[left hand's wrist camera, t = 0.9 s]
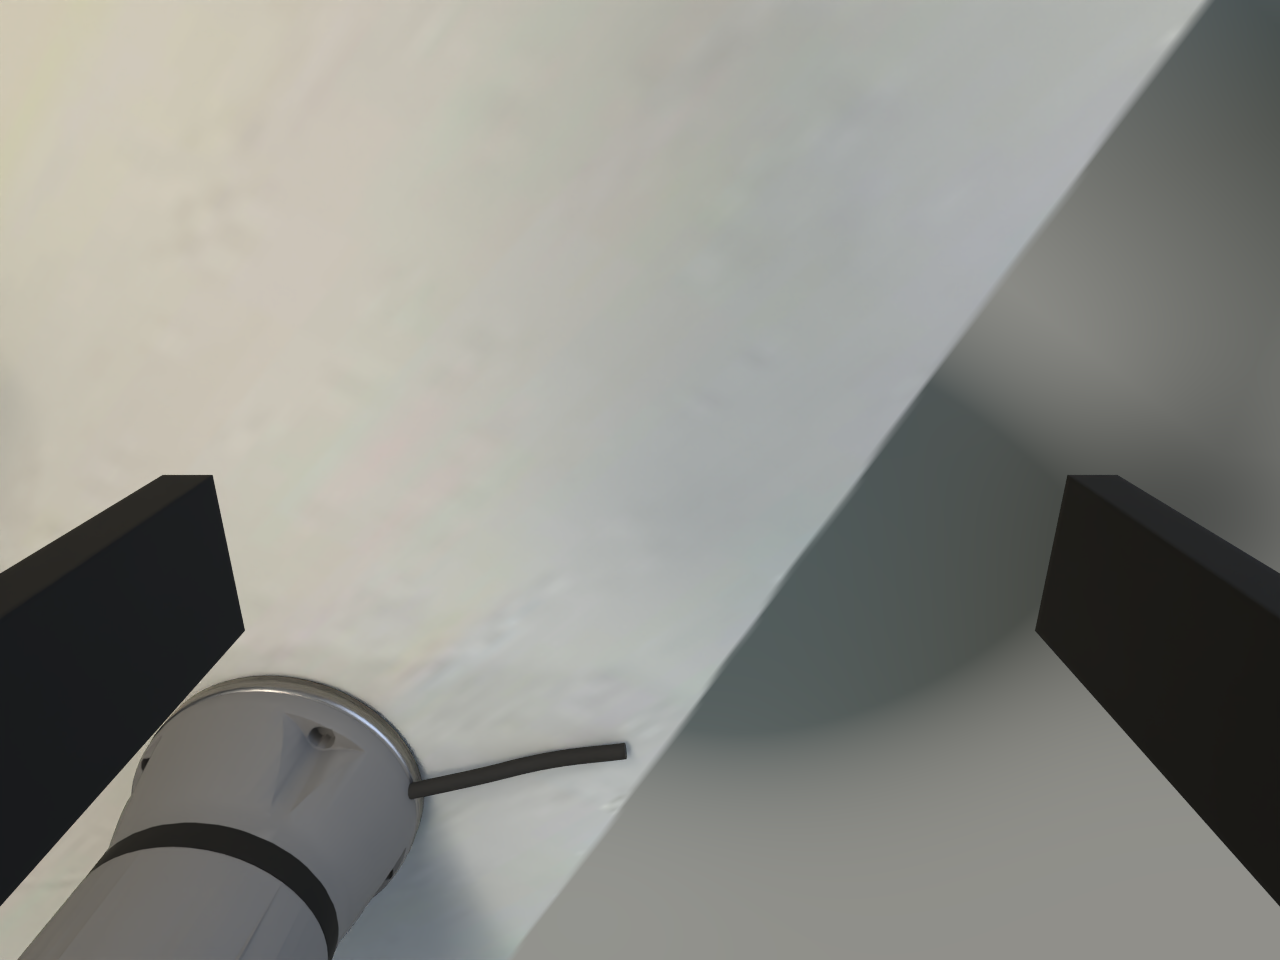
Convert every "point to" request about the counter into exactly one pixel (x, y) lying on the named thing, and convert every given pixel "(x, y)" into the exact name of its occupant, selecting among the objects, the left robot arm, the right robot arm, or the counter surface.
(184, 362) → the counter surface
